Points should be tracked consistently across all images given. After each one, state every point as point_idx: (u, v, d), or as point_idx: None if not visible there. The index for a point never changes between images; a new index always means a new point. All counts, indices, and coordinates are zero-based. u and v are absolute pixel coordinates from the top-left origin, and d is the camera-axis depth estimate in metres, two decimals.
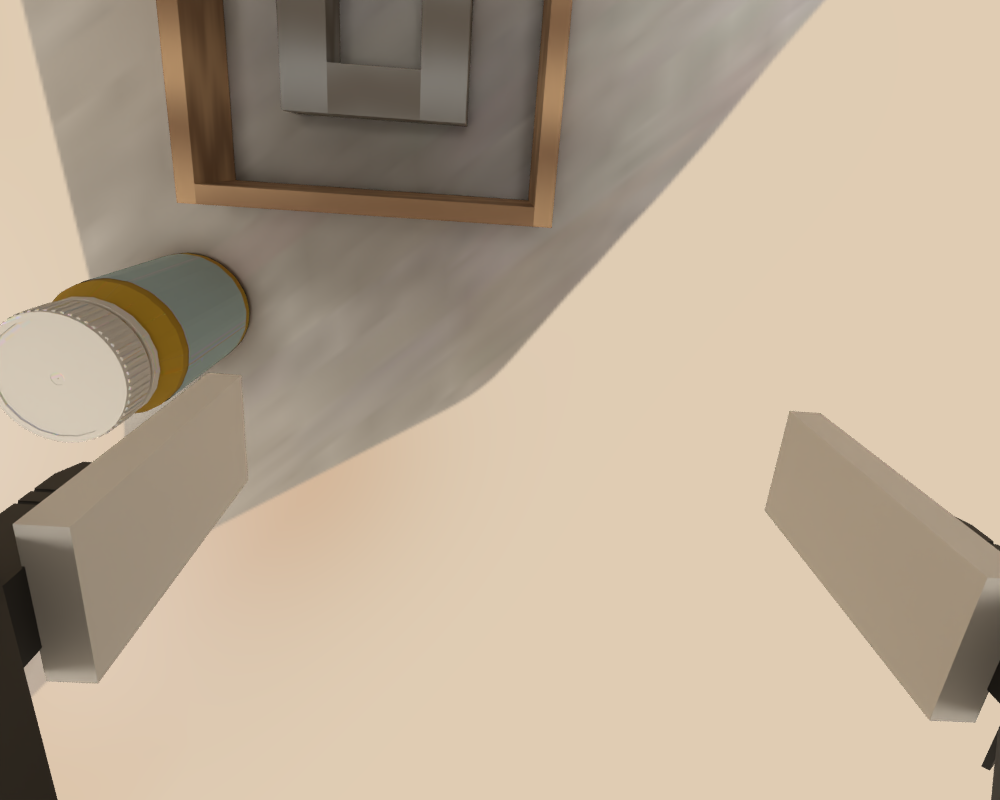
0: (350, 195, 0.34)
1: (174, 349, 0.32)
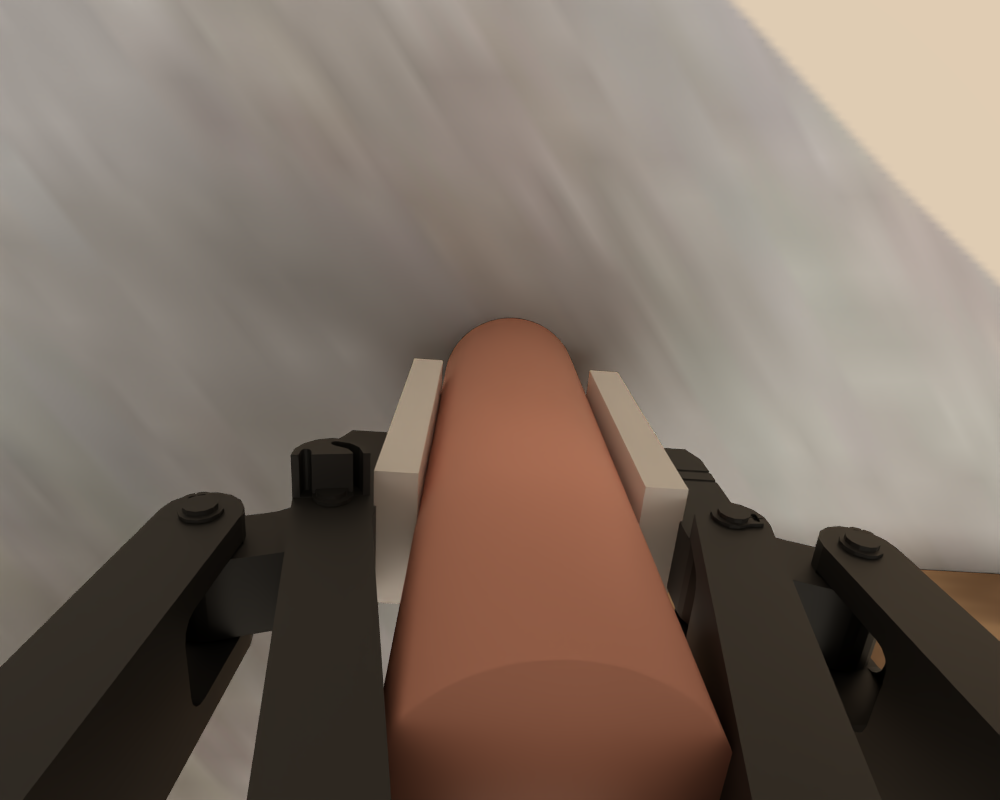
0: None
1: None
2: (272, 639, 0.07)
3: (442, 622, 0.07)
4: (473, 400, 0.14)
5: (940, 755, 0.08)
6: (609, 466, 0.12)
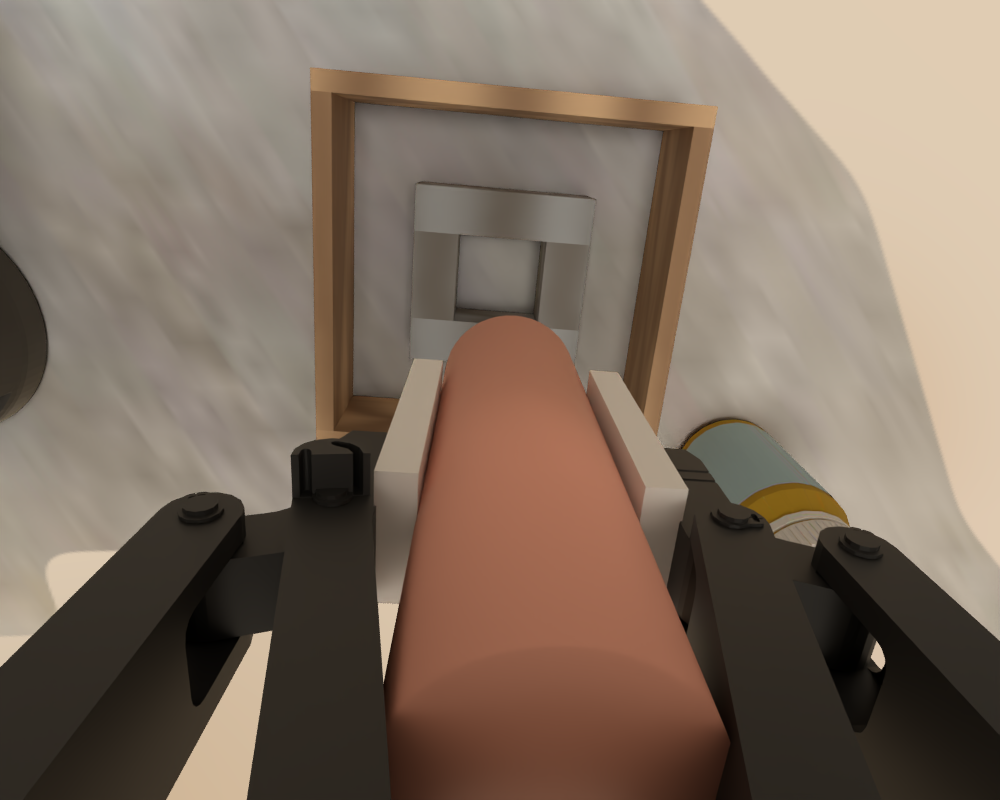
0: (660, 318, 0.36)
1: (799, 495, 0.34)
2: (272, 639, 0.07)
3: (442, 611, 0.07)
4: (473, 395, 0.14)
5: (940, 755, 0.08)
6: (608, 460, 0.12)
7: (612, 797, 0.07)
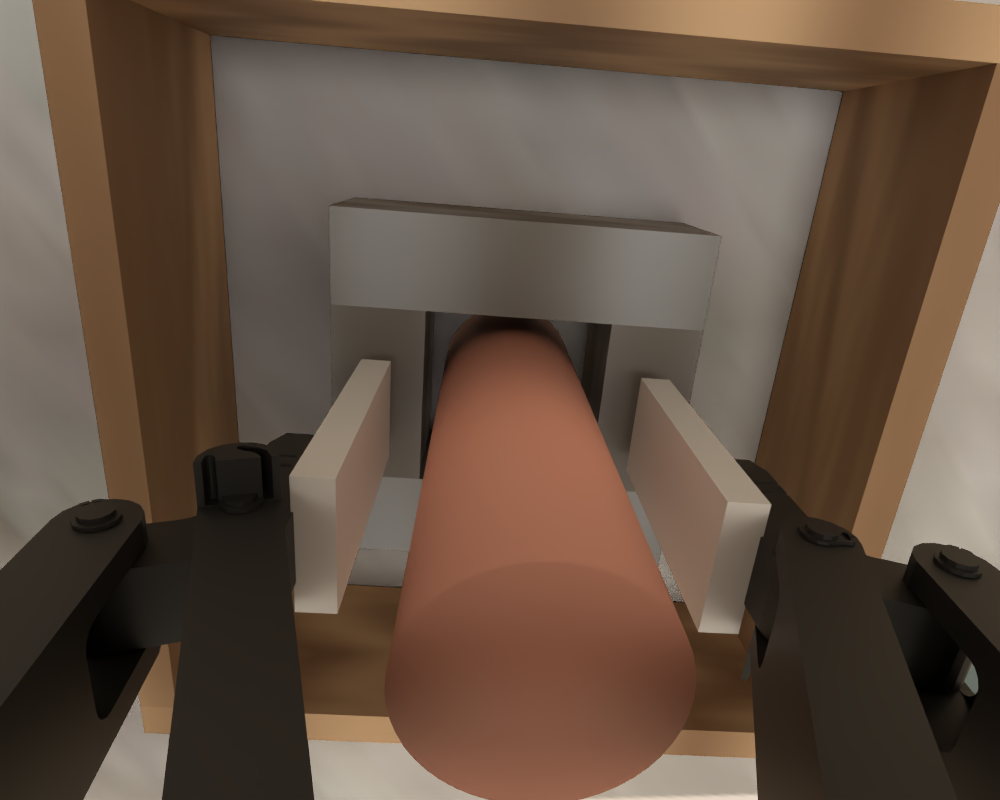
0: (862, 492, 0.17)
1: None
2: (180, 656, 0.07)
3: (449, 543, 0.09)
4: (474, 374, 0.15)
5: None
6: (595, 430, 0.13)
7: (592, 696, 0.08)
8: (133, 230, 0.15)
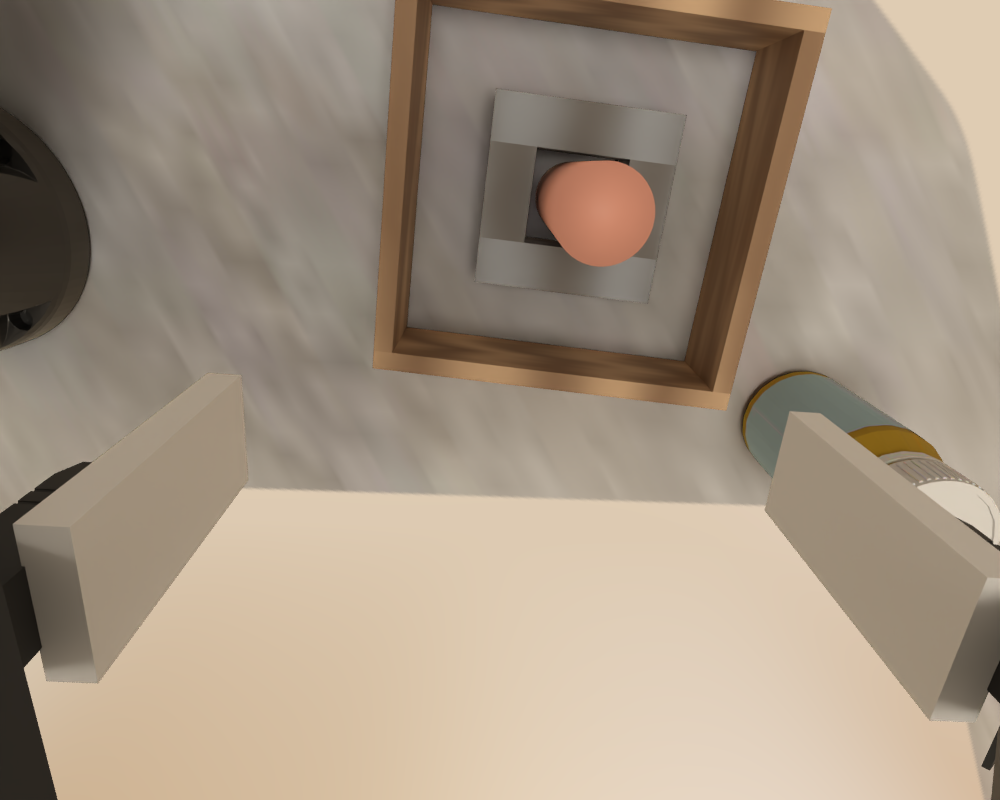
0: (750, 244, 0.34)
1: (895, 436, 0.32)
2: None
3: (574, 169, 0.26)
4: (564, 165, 0.32)
5: None
6: None
7: (620, 216, 0.25)
8: (413, 89, 0.32)
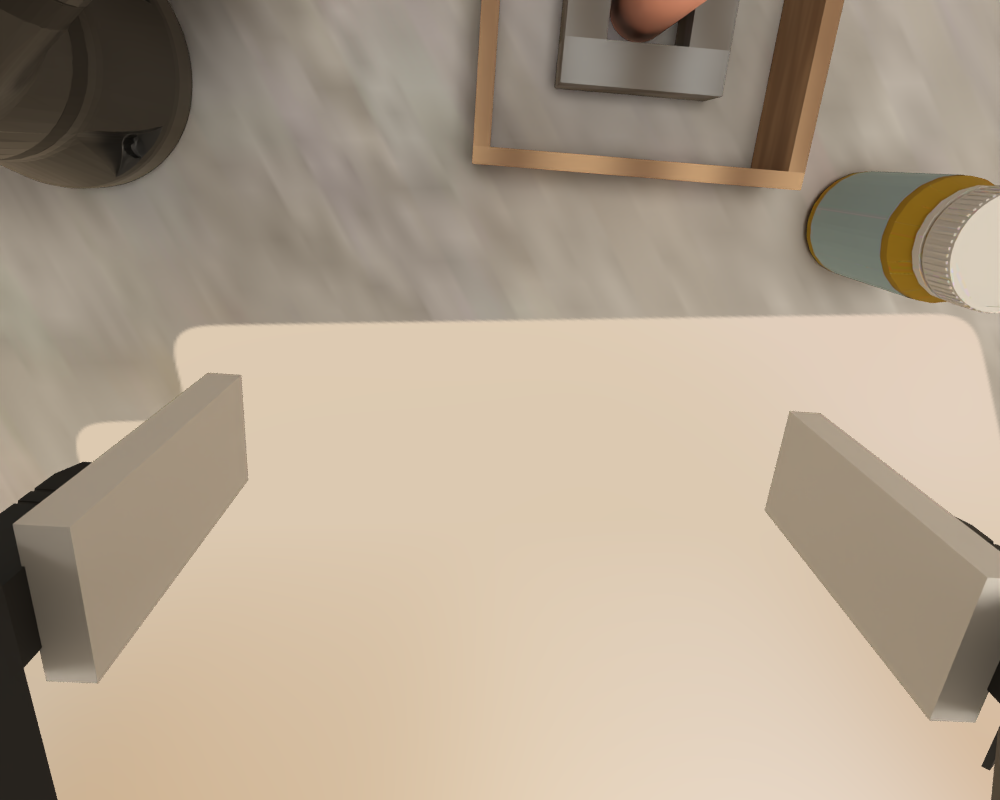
0: (822, 17, 0.36)
1: (968, 179, 0.35)
2: None
3: None
4: None
5: None
6: None
7: None
8: None
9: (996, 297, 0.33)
